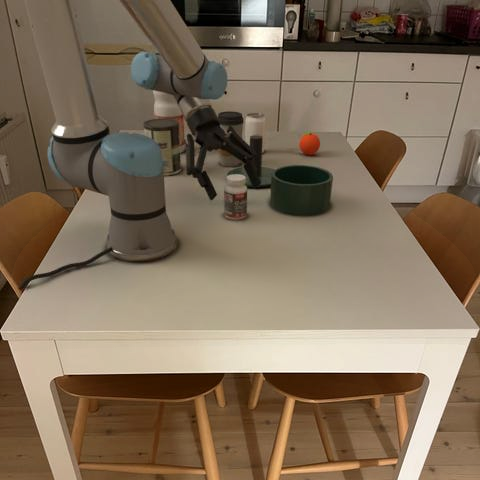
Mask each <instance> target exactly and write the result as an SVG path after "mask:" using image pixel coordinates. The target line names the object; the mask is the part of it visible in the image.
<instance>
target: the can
mask: <svg viewBox="0 0 480 480" xmlns="http://www.w3.org/2000/svg"><path fill="white" fill-rule="evenodd" d="M244 123H245V124H244V125H245V126H244V127H245V128H244V141H245V142H246V143H247V144H248V145H249V146H250V136H253V135H259V136H262V137H263V140H262V154H263V153H264V152H265V134H266V118H265V114H264V113H262V112H261V113H260V112H249V113H247V114H246V118H245V122H244Z"/></svg>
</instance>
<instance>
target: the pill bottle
mask: <svg viewBox="0 0 480 480" xmlns="http://www.w3.org/2000/svg"><path fill="white" fill-rule="evenodd" d="M245 182H246V177H245V176H244V175H240V174H232V175H228V176H227V175H226V185H225V186H224V188H223V197H224V198H223V215H224V217H225V218H227V219H229V220H234V221H235V220H242V219H244V218H246V217H247V214H248V186H245V185H244V184H245Z"/></svg>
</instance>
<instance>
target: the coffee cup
mask: <svg viewBox="0 0 480 480" xmlns="http://www.w3.org/2000/svg"><path fill="white" fill-rule="evenodd" d="M217 117H218V119H219V123H220V127H221V128H222V129H223V130H225V129H228V127H229V126H232V127H233V128H234V130H235V132H236V133H237V134H238V135H239V136H240V137H241V138H242V139H243V129H244V123H245V122H244V121H245V120H244V117H243V114H242V113H241V112H240V111H227V110H226V111H221V112H218V113H217ZM225 137H226V136H225ZM224 144H225V142H224V143H223V145H224ZM218 152H219V162H220V165H222V166H224V167H237V166H239V165H240V163H241V161H240V160H239V159H237V158H236V157H234V156H233V155H231V154H230V153H228V152H227V151H223V150H221V149H219V150H218Z"/></svg>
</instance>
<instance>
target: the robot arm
mask: <svg viewBox="0 0 480 480" xmlns="http://www.w3.org/2000/svg"><path fill="white" fill-rule="evenodd" d="M118 1H119V2H120V3H121V6H123V7H124V9H125V10H126V11H127V13H128V14H129V15H130V16H131V18H132V19H133V21H134V22H135V23H136V25H137V26H138V28H139V29H140V30H141V31H142V33H143V34H144V36H145V37H146V38H147V40H148V41H149V42H150V43H151V45H152V46H153V47H154V50H156V51H157V53H158V54H156V53H155V52H150V51H145V50H143V51H139V52H138V53H137V54H136V55H134V57H133V58H132V61H131V65H130V75H131V78H132V81H133V82H134V84H135V85H137V86H138V87H141V88H143V89H145V90H149V91H153V90H154V91H158V92H163V93H167V94H171V95H173V96H174V98H175V100H176V102H177V104H178V106H179V108H180V110H181V112H182V115H183V119H184V121H185V122H186V125H187V127H188V129H189V131H190V133H187V134H186V136H185V137H184V143H185V171H186V173H185V174H186V175H187V176H192V178H194V179H196V180H197V182H198V184H199V186H200V187H201V188H202V189H203V188H204V190H205V192H206V194H207V197H208V199H209V201H210V202H211V201H213V200H214V199H215V198H216V197H217V196H218V193H217V191H216V189H215V187H214V185H213V182H212V180H211V178H210V175H209V174H208V171H207V170H203V167H204V163H205V161H206V157H207V154H208V152H210V153H211V152H213V151H219V149H221V150H223V151H227V152H228V153H230V154H231V155H233V156H234V157H236V158H237V159H239V160H240V162H242V163H243V165H242V167H244V169H245V171H246V173H247V175H248V177H249V179H250V181H251V183H252V185H253V187H252V188H253V189H257V188H259V187H258V186H259V185H260V184H261V181H260V179H259V177H258V175H257V173H256V172H257V168H256V166H255V164H254V162H253V159H254V158H255V157H256V156H257V153H256V152H255V151H254V150H253V149H252V148H251V147H250V146H249V145H248V144H247V143H246V142H245V139H243V137H242V138H241V137H240V136H239V135H238V134H237V133H236V132H235V130H234V128H233V127H232V126H229V127H228V129H225V130H223V129H222V128H221V127H220V123H219V119H218V114H217V113H216V111H215V109H214V108H213V105H212V103H211V101H210V100H214V101H215V100H219V99H220V98H221V97H223V95H224V94H225V91H226V90H227V86H228V80H229V79H228V73H227V69H226V67H225V66H224V64H221V63H220V62H216V61H214V60H208V58H207V56H206V54H205V53H204V52H203V50H202V48H201V47H200V45H199V44H198V42H197V40H196V39H195V37H194V35H193V34H192V31H190V30H189V27H188V26H187V24H186V23H185V21H184V20H183V19H182V18H183V17H182V16H181V15H180V13H179V12H178V10H177V8H176V7H175V6H174V4H173V2H172V1H171V0H118ZM23 3H24V7H25V9H26V13H27V17H28V20H29V24H30V28H31V32H32V36H33V39H34V44H35V47H36V50H37V54H38V58H39V62H40V66H41V69H42V73H43V78H44V81H45V84H46V88H47V92H48V95H49V99H50V103H51V106H52V110H53V114H54V118H55V122H54V124H53V126H52V127H51V129H50V131H51V135H52V136H51V137H50V140H49V142H48V143H49V146H48V147H47V161H48V163H49V167H50V169H51V170H52V172H53V173H54V174H55V176H56V177H57V178H58V179H59V180H61V181H62V182H64V183H66V184H68V185H71V186H73V187H74V188H77V189H83V190H86V191H87V190H88V191H91V192H94V193H97V194H101V195H104V196H106V197H108V200H109V206H110V208H109V209H110V220H109V221H110V222H109V226H108V234H107V236H106V249H104V250H102V251H101V252H100V251H99V253H97V254H94V256H92V257H91V258H89V259H86V260H84V261H80V262H74V263H73V262H72V263H68V264H65V265H62V266H60V267H58V268H56V269H53V270H51V271H48V272H43V273H36V274H33V275H31V276H28V277H27V278H25V279H24V280H23V281H22V282H21V283H20V284H19V286H18V288H17V289H18V291H20V290H24V289H25V287H26V286H27V285H28V284H30V282H32V281H34V280H39V279H42V278H48V277H49V278H50V277H53V276H54V275H57V274H59V273H62V272H63V271H66V270H69V269H73V268H79V267H84V266H87V265H90V264H92V263H94V262H95V261H97V260H98V259H100V258H102V257H103V256H105V255H107V254H110V255H111V256H112V257H114V258H116V259H118V260H121V261H127V262H138V263H139V262H140V263H141V262H151V261H156V260H159V259H162V258H164V257H166V256H168V255H170V254H172V253H173V252H174V251H175V250H176V248H177V235H176V232H175V230H174V229H173V227H172V224H171V221H170V218H169V215H168V214H167V206H166V189H165V176H164V169H163V167H164V165H163V160H162V155H161V149H160V146H159V145H158V143H157V142H156V141H155V140H153V139H152V138H150V137H147V136H145V134H141V133H136V132H132V133H130V132H127V131H126V132H125V131H124V132H114V133H111V132H110V128H109V122H108V121H107V119H105V118H104V117H102V116H101V115H100V114H99V111H98V106H97V101H96V95H95V93H94V92H95V91H94V88H93V84H92V79H91V78H92V77H91V74H90V70H89V65H88V64H89V63H88V59H87V54H86V50H85V46H84V42H83V41H84V40H83V37H82V32H81V28H80V23H79V17H78V13H77V10H76V4H75V0H23ZM225 136H226V137H225ZM224 142H225V144H224V145H223V143H224ZM195 144H197V145H199V151H198V156H197V160H196V159H195V158H196V154H195V153H196V152H195V150H196V149H195V146H196V145H195ZM195 160H196V161H195ZM195 162H196V163H195Z"/></svg>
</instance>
